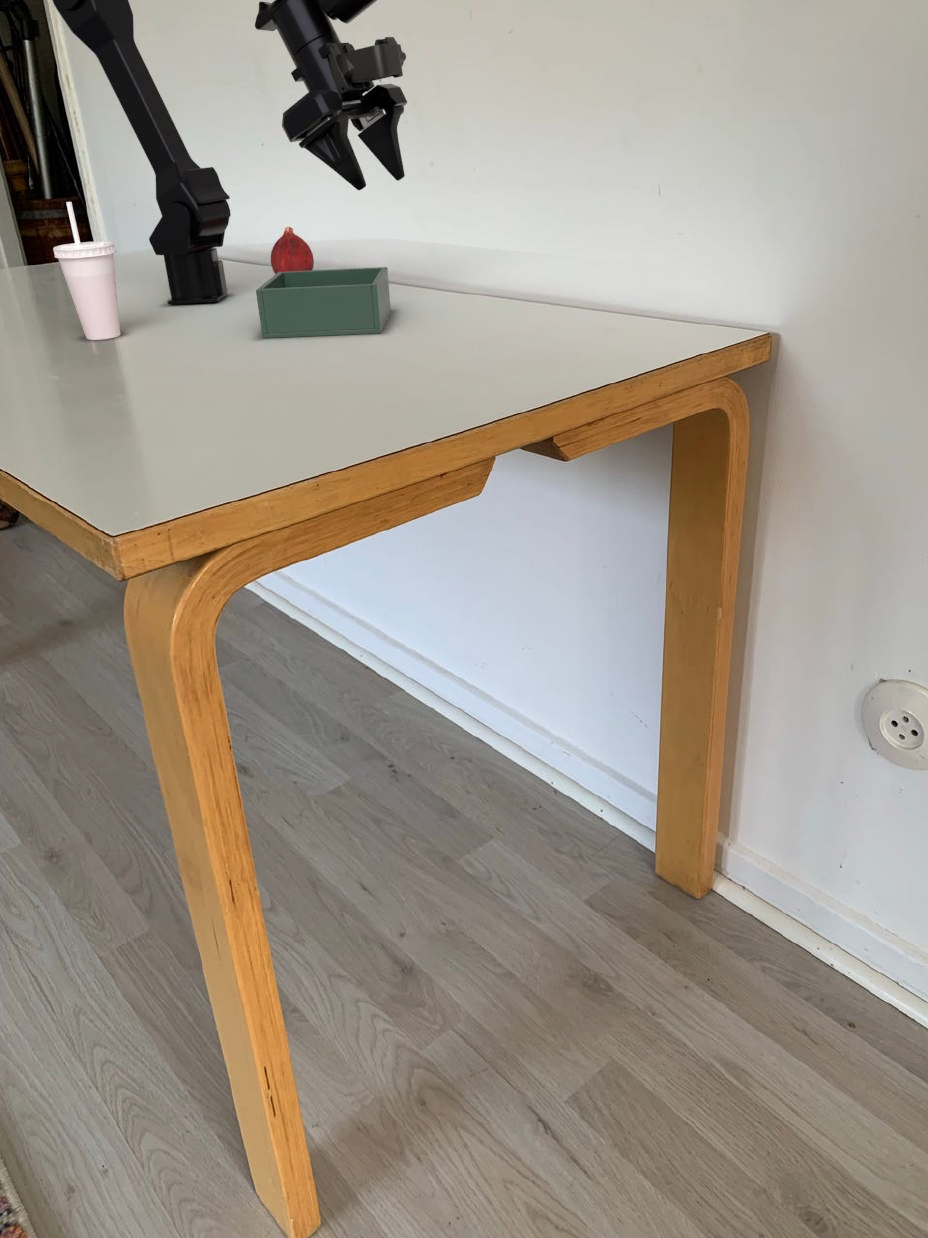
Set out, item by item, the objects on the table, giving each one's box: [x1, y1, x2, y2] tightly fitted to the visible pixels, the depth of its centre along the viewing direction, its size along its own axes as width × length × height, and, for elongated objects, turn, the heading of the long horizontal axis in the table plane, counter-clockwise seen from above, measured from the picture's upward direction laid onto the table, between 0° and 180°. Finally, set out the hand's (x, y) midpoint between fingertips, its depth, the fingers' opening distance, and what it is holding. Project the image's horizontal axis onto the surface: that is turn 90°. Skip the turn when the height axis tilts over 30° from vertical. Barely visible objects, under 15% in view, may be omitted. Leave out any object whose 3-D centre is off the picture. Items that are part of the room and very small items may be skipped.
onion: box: [270, 226, 315, 275], centre depth 130 cm, size 6×6×8 cm
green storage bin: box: [255, 266, 392, 339], centre depth 107 cm, size 13×13×5 cm
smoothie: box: [52, 201, 122, 341], centre depth 104 cm, size 6×6×14 cm
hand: (382, 183), depth 111 cm, fingers open, 9 cm apart
